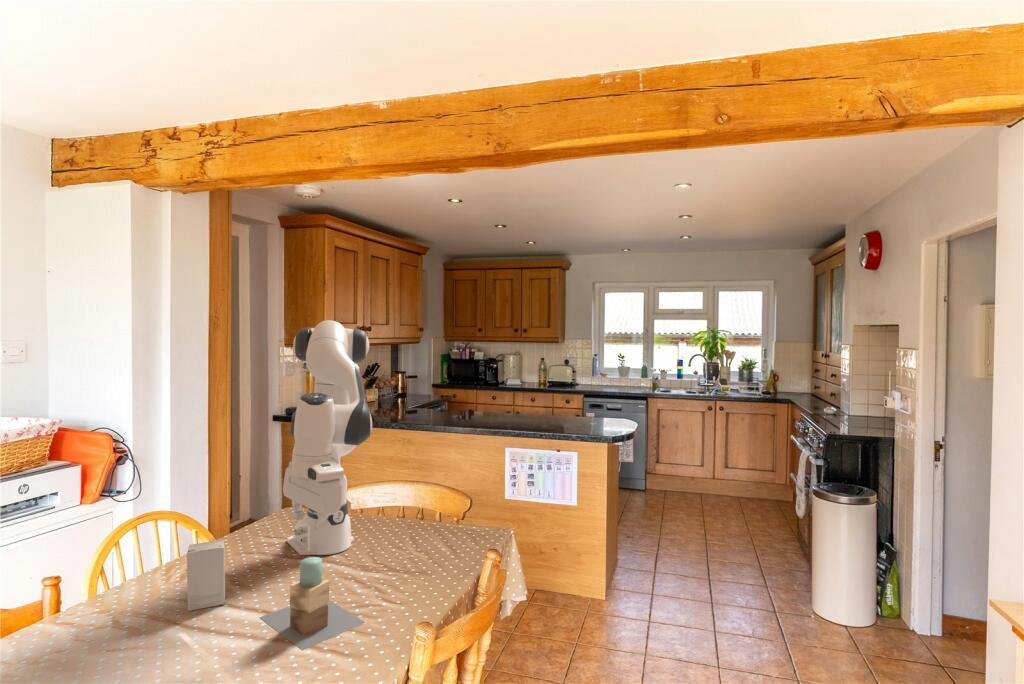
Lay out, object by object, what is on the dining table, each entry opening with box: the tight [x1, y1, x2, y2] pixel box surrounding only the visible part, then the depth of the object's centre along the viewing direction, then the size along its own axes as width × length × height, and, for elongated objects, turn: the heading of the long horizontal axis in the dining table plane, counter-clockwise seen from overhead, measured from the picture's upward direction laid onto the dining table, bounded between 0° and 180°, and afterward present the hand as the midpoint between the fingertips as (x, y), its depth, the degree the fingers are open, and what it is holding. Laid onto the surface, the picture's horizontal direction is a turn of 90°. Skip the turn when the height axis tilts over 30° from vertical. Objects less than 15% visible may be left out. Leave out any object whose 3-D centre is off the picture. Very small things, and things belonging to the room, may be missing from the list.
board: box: [258, 599, 367, 651], centre depth 130 cm, size 20×16×1 cm
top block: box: [289, 578, 330, 613], centre depth 127 cm, size 6×6×5 cm
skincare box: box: [186, 539, 226, 612], centre depth 138 cm, size 8×6×15 cm
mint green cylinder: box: [299, 556, 323, 587], centre depth 127 cm, size 5×5×5 cm
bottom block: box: [290, 603, 328, 636], centre depth 127 cm, size 6×6×5 cm
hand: (308, 524), depth 127 cm, fingers open, 8 cm apart
